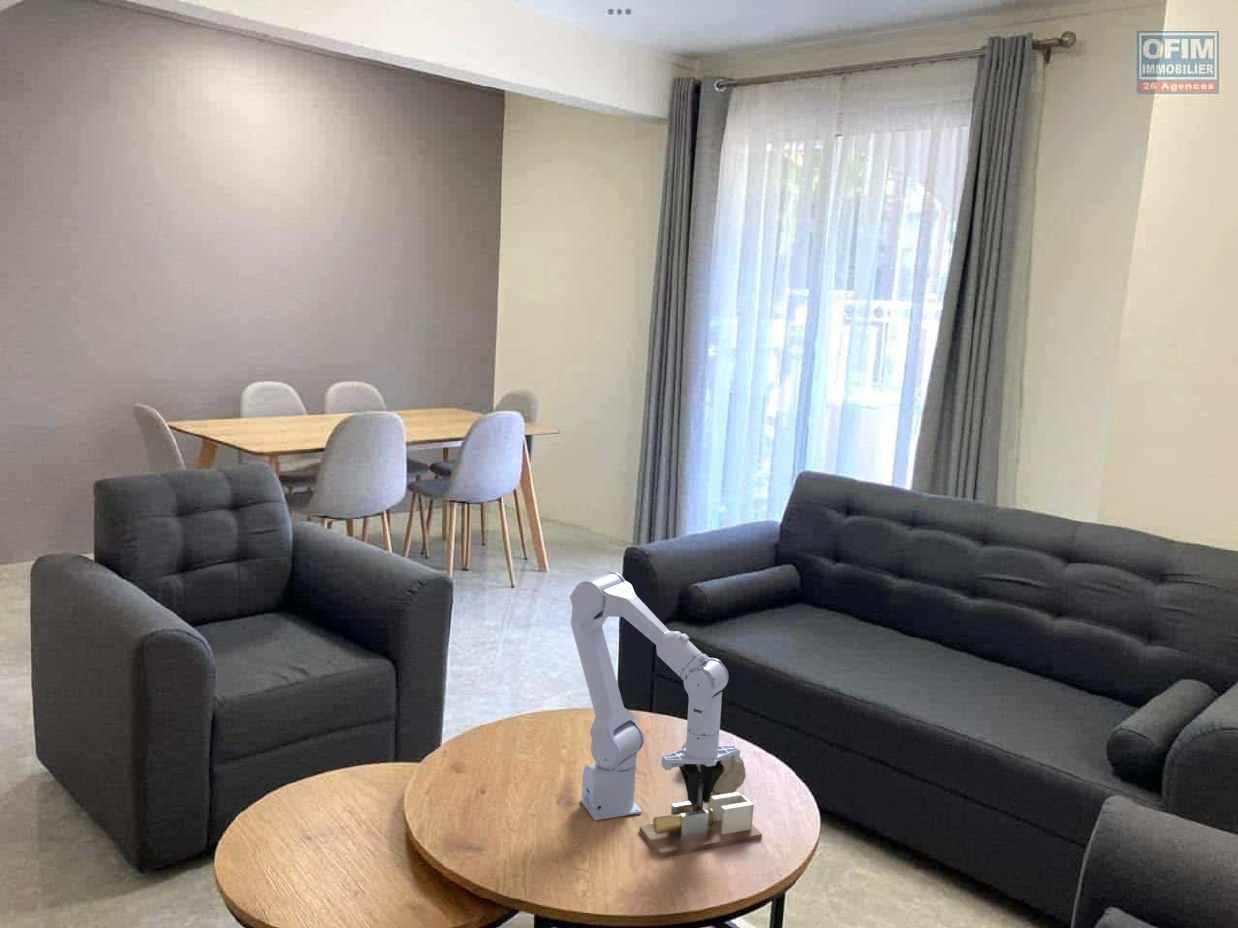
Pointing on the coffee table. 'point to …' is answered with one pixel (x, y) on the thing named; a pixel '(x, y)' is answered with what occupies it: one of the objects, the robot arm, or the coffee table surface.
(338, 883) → the coffee table surface
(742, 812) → the socket block
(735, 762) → the sculpture
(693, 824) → the guide board
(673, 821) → the brass bolt
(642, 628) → the robot arm
